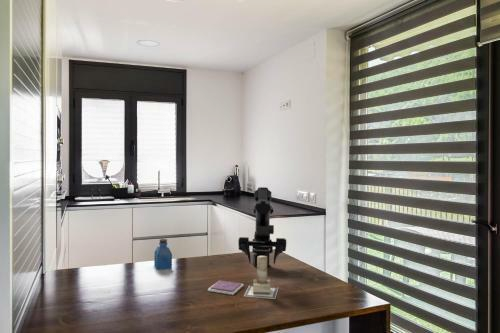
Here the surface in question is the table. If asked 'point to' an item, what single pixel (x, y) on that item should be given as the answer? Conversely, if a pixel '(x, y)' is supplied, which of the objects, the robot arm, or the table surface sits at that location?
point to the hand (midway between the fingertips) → (262, 263)
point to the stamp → (261, 277)
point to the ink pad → (226, 287)
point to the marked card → (250, 294)
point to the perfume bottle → (163, 256)
